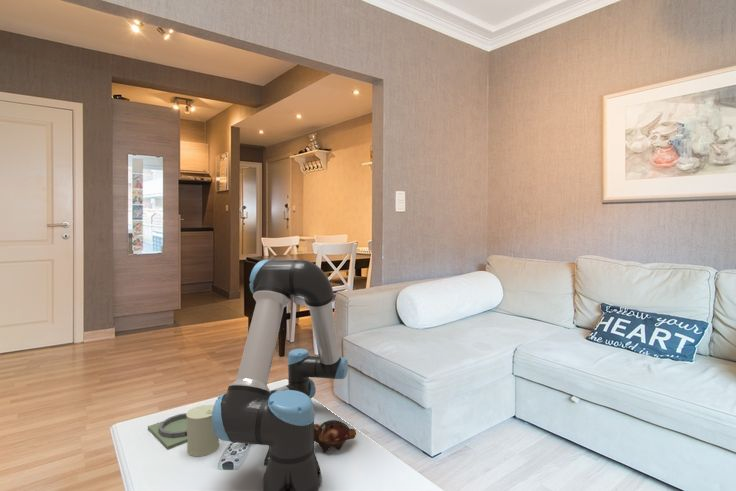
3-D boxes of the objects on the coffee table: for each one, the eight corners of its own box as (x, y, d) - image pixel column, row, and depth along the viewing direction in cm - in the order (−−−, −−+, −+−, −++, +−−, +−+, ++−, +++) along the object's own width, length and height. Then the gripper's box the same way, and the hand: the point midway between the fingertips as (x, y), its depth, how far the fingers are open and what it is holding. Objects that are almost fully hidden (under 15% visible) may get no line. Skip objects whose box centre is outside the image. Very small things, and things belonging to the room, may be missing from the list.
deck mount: (218, 430, 134) (217, 423, 134) (167, 449, 123) (167, 441, 122) (195, 413, 147) (195, 406, 146) (147, 429, 135) (147, 421, 135)
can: (208, 458, 118) (207, 418, 117) (180, 454, 120) (179, 415, 119) (225, 441, 127) (224, 404, 126) (199, 438, 129) (198, 402, 128)
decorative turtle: (303, 445, 125) (304, 419, 125) (348, 437, 131) (349, 412, 131) (312, 459, 116) (313, 431, 116) (360, 450, 122) (361, 424, 123)
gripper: (296, 422, 134) (237, 447, 119) (258, 400, 151) (201, 419, 136) (296, 400, 133) (237, 422, 118) (257, 380, 151) (201, 397, 136)
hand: (218, 421), depth 127 cm, fingers open, 13 cm apart
